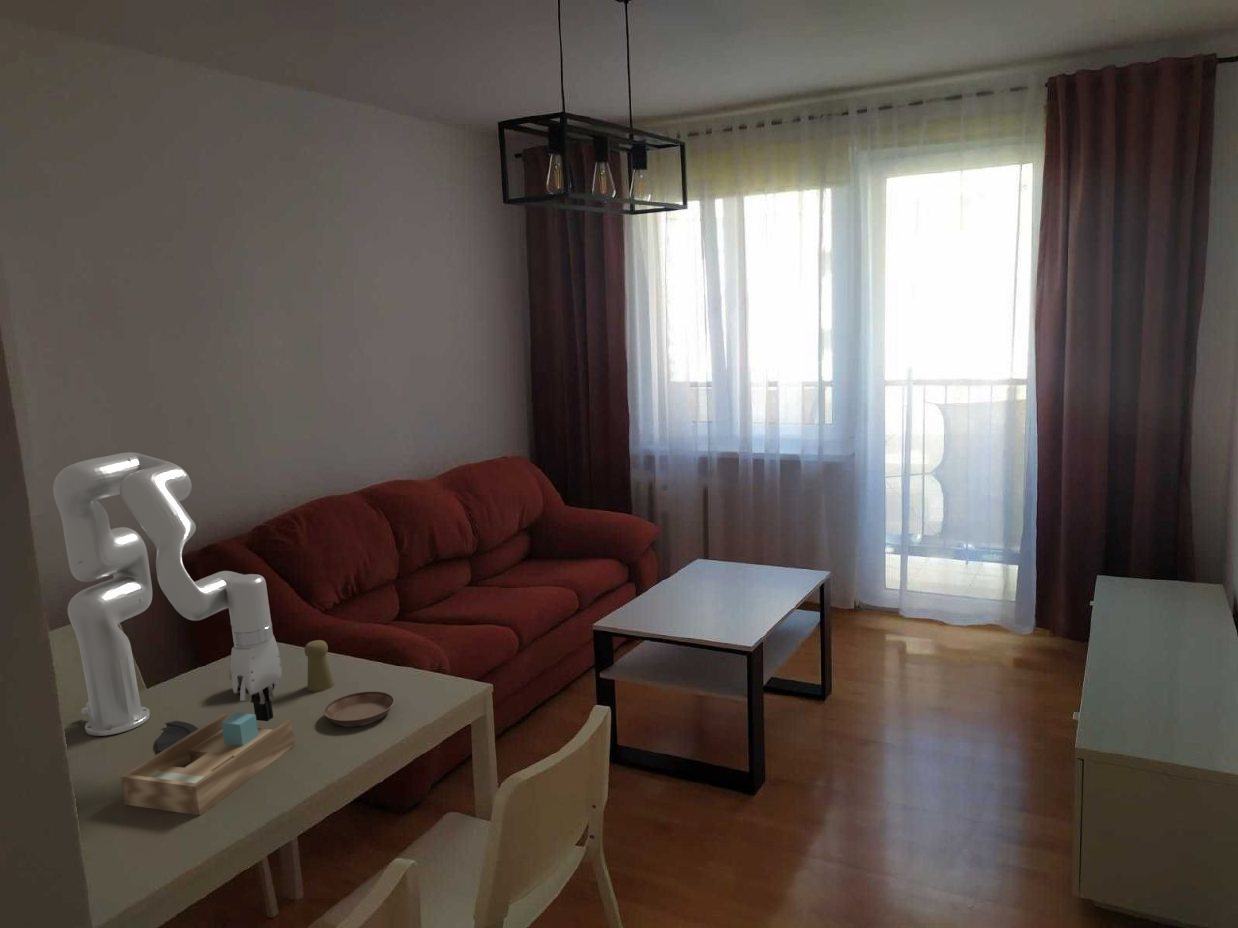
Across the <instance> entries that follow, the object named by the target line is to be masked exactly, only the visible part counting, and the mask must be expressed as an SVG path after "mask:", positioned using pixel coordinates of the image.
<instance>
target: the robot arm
mask: <svg viewBox="0 0 1238 928" xmlns="http://www.w3.org/2000/svg"><path fill="white" fill-rule="evenodd" d="M192 487H193V486H192V480H191V479H190V476H189V474H188V473H187V472H186V471H185V469H183V468H182V466H180V465H177V464H175V463H173V462H171V461H167V460H163V459H160V458H156V457H153V456H149V455H145V454H144V453H143V454H142V453H139V452H132V451H131V452H129V451H128V452H121V453H120V452H119V453H116V454H110V455H107V456H106V455H105V456H99V457H95V458H91V459H90V458H89V459H86V460H82V461H78V462H76V463H75V462H74V463H73V464H70V465H68V466H66V467H64V468H63V469H61V471H59V473H58V474H57V475H56V476H55V479H54V482H53V486H52V491H53V498H54V501H55V504H56V507H57V510H58V513H59V515H60V519H61V521H62V528H63V535H64V542H65V543H64V544H65V548H66V554H67V560H68V566H69V570H70V573H71V574H72V576H73V577H74V579H75V580H77V581H80V582H84V583H89V582H95V581H98V580H101V579H104V578H107V577H109V576H113V578H111V579H109V580H105V581H102V582H99V583H97V584H94V585H92V586H89V587H86V588H84V589H81V590H80V591H79V592H77V593H76V594H75V595H74V596H72V597H71V599H70V601H69V602H68V604H67V616H68V620H69V621H70V624H71V626H72V629H73V630H74V633H75V636H76V640H77V643H78V649H79V652H80V653H79V654H80V658H81V663H82V669H83V675H84V680H85V687H86V691H87V697H88V701H87V702H86V704H85V707H83V708H82V709H80V710H81V714H82V715H88V718H89V720H88V721H87V722H86V723H85V725H84V729H85V732H86V733H87V735H90V736H94V737H95V736H97V737H101V736H103V737H105V736H112V735H117V734H121V733H124V732H127V731H130V730H133V729H135V728H137V727H139V726H141V725H143V724H144V723H145V722H147V721H148V720H149V718H150V716H151V713H150V709H149V708H147V707H146V706H142V705H141V700H140V694H139V693H140V692H139V688H138V680H137V676H136V675H137V674H136V669H135V664H134V658H133V650H132V646H131V645H132V644H131V642H130V640H129V637H128V636H127V635H126V634H125V633H124V631H123V630H122V629H121V628H120V627H119V624H120V623H122V622H124V621H125V620H128V619H131V618H133V617H135V616H138V615H140V614H142V613H144V612H145V611H146V610H147V609H148V608H149V607H150V605H151V604H152V601H153V586H152V585H153V584H152V578H151V570H150V564H149V563H150V562H149V555H148V549H147V546H146V544H145V541H144V540H143V538H142V537H141V535H140V534H139V533H138V532H137V531H136V530H134V529H132V528H130V527H124V526H122V527H114V528H111V525H110V518H109V514H108V512H107V511H106V509H105V508H104V506H103V505H102V504H101V502H99V500H101V499H105V498H110V497H114V496H118V495H120V497H121V499H122V501H123V503H124V504H125V506H127V508H128V509H129V511H130V513H131V514H132V515H133V517H134V518H135V519H136V521H137V522H138V523H139V525H140V527H141V528H142V530H143V531H144V532H145V533H146V535H147V536H148V537H149V539H150V540H151V542H152V543H153V545H154V546H155V549H156V558H155V570H156V577H157V581H158V584H159V587H160V589H161V591H162V592H163V594H164V596H165V597H166V598H167V600H168V601H169V603H170V604H171V605H172V606H173V608H174V609H175V611H177V613H179V615H181V616H182V617H183V618H185V619H187V620H190V621H194V622H195V621H201V620H204V619H206V618H208V617H210V616H213V615H215V614H218V613H219V612H222V611H224V610H227V609H228V611H229V612H228V613H229V617H230V625H231V633H232V639H233V640H232V641H233V647H232V648H231V654H230V667H231V676H232V682H231V685H232V691H233V693H234V694H240V696H239V698H240V699H239V701H240V702H241V703H248V702H250V703H251V704H253V709H254V710H253V711H254V714H255V715H256V721H261V722H262V721H263V722H269V721H270V720H272V719H273V718H274V712H273V705H272V699H273V697H274V689H275V687H276V686H277V685H278V684H279V683H280V682H281V677H282V675H283V671H282V670H283V669H282V662H281V660H282V659H281V656H280V651H279V647H278V644H277V641H276V638H275V635H274V633H273V623H272V619H271V611H270V609H271V608H270V604H269V603H270V602H269V596H268V589H267V582H266V579H265V577H264V576H262V575H260V574H254V573H248V574H243V573H238V572H236V571H235V572H234V571H231V570H230V571H229V570H222V571H218V572H216V573H213V574H211V575H208V576H206V577H202V578H200V579H199V580H196V581H194V580H193V579H192V578H191V576H190V574H189V573H188V571H187V570H186V568H185V565H184V563H183V550H184V547H185V544H186V543H187V542H188V541H189V540H190V539H191V538H192V537H193V535H194V534H195V532H196V529H197V527H196V526H197V525H196V523H195V521H194V520H193V519H192V518H191V516H190V515H189V513H188V512H187V511H186V509H185V507H183V505H182V503H181V501H183V500H185V499H187V498H188V497H189V496H190V494H191V491H192Z"/></svg>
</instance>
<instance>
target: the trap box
mask: <svg viewBox="0 0 1238 928" xmlns="http://www.w3.org/2000/svg"><path fill="white" fill-rule="evenodd" d="M228 718H229V715H228V713H221V714H220V715H218V716H217V717H215V718H213V719H212V720H211V721H208V722H207V723H206V724H204V725H202V726H201V727H198V729H197V730H196V731H194V732H193V733H191V734H189V735H188V736H186V737H184V738H183V739H181V740H180V741H178V742H176V743H175V744H173V745H171V746H170V747H168V748H167V749H165V750H163V751H162V752H160V753H158V752H157V754H155V755H154V756H152V757H150V758H149V759H147V760H145V761H143V762H142V763H141V764H139V765H138V766H136V767H133V768H132V769H131V770H129V771H127V772H126V773H124V774H122V775H121V776H120V782H121V787H122V793H123V799H124V804H125V805H127V806H132V807H140V808H147V809H153V810H160V811H167V812H174V813H180V814H181V813H182V814H186V815H187V814H188V815H195V816H201V815H203V814H204V813H205V812H207V811H208V810H209V809H211V808H212V807H214V806H215V805H216V804H217V803H219V802H220V801H222V800H223V799H224V798H226V797H227V796H229V795H230V794H231V793H232V792H234V791H235V790H237V789H238V788H239V787H241V786H243V785H244V784H245V783H246V782H248V781H249V780H251V779H252V778H253V777H254V776H255V775H258V773H259V772H262V770H264V769H266V768H267V767H269V766H270V765H271V764H272V763H273V762H275V761H276V760H278V759H279V758H280V757H282V756H283V755H284V754H286V753H287V752H288V751H289V750H291V749H292V748H293V747H295V744H296V742H295V737H294V736H295V735H294V729H293V721H292V720H290V719H287V720H285V721H284V722H282V723H280V724H279V725H278V726H277V727H275V728H274V729H268V728H260V727H257V728H258V736H257V737H255V738H254V739H253V740H251V741H250V742H248V743H247V744H245V745H244V746H239V745H230V744H225V743H224V737H223V730H222V722H223V721H225V720H227V719H228Z"/></svg>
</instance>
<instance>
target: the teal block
mask: <svg viewBox="0 0 1238 928" xmlns="http://www.w3.org/2000/svg"><path fill="white" fill-rule="evenodd" d="M257 721H258V720H256V715H255V713H254V714H253V713H242V712H236V713H234V714H233V715H231V716H229V717H228V719H227V720H225V721H223V722H222V730H223V737H224V743H225V744H230V745H239V746H244V745H245V744H247V743H248V742H250V741H251V740H253V739H254V738H255V737H257V736H258V728H259V727H258V722H257Z"/></svg>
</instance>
